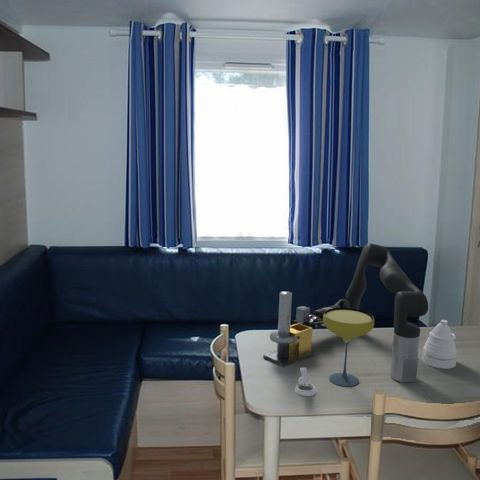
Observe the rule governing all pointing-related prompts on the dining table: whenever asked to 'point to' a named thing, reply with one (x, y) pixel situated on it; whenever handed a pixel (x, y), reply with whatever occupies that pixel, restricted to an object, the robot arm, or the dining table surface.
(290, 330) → the flanged pole stand
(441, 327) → the honey pot
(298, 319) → the grey square peg
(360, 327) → the cocktail glass
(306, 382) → the white vr controller
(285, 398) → the dining table surface
